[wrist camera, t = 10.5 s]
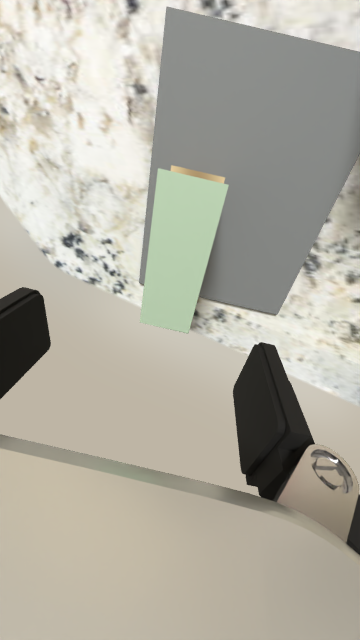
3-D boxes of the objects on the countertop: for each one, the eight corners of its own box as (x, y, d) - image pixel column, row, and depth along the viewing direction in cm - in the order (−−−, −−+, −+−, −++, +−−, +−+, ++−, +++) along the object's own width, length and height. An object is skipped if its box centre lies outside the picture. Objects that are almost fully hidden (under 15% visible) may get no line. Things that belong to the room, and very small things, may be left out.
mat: (401, 65, 20) (406, 62, 20) (276, 312, 35) (277, 314, 34) (167, 11, 20) (166, 6, 20) (140, 281, 35) (139, 282, 34)
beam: (224, 184, 20) (228, 184, 15) (192, 305, 27) (188, 333, 22) (171, 171, 20) (158, 168, 15) (152, 296, 27) (139, 322, 22)
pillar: (221, 178, 26) (225, 177, 20) (210, 223, 29) (210, 234, 23) (180, 169, 26) (171, 165, 20) (172, 215, 29) (163, 223, 23)
